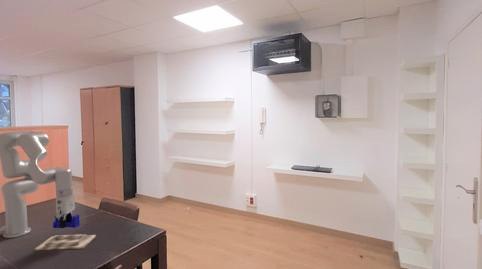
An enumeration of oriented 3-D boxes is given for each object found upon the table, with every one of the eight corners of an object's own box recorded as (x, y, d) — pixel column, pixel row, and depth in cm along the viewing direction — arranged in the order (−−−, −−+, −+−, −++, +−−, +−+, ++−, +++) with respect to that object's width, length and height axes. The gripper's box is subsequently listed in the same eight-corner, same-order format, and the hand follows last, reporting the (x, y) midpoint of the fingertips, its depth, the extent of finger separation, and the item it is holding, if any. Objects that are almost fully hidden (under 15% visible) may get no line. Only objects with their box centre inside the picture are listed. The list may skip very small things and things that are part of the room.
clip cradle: (34, 250, 135) (34, 245, 135) (51, 237, 149) (51, 233, 149) (83, 248, 137) (83, 243, 137) (95, 236, 151) (95, 232, 151)
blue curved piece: (53, 227, 141) (52, 216, 141) (60, 224, 145) (59, 213, 145) (73, 228, 139) (72, 217, 139) (79, 225, 144) (79, 214, 143)
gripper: (62, 196, 133) (64, 231, 134) (80, 187, 150) (81, 218, 151) (46, 197, 133) (48, 232, 134) (66, 188, 150) (67, 219, 151)
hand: (66, 224), depth 143 cm, fingers closed on blue curved piece, 5 cm apart
